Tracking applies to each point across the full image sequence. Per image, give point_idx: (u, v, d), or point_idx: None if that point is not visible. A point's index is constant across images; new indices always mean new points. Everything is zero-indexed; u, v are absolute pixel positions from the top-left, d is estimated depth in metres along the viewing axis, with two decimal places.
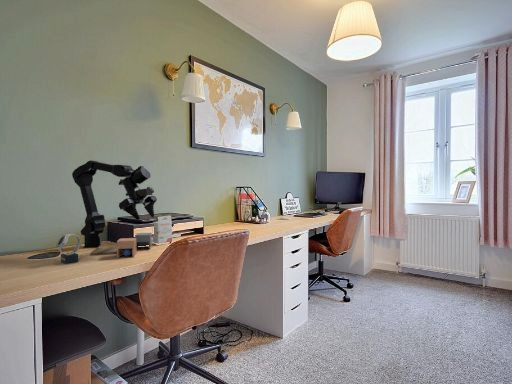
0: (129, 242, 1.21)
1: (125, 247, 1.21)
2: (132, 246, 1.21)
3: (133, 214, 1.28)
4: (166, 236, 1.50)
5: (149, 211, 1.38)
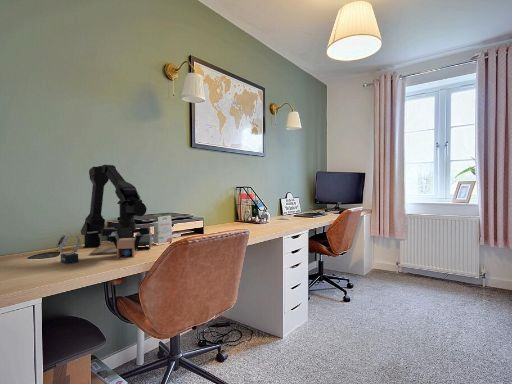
0: (129, 242, 1.21)
1: (125, 247, 1.21)
2: (132, 246, 1.21)
3: None
4: (166, 236, 1.50)
5: None
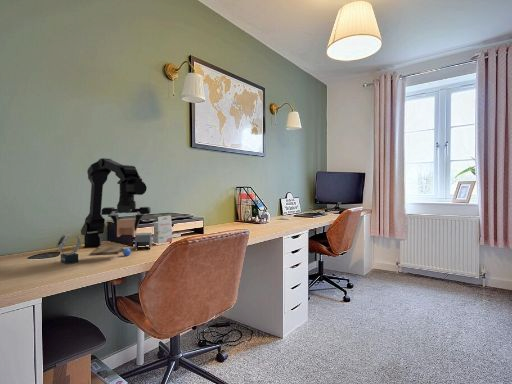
0: (129, 221, 1.21)
1: (125, 226, 1.20)
2: (132, 225, 1.21)
3: None
4: (166, 236, 1.50)
5: None
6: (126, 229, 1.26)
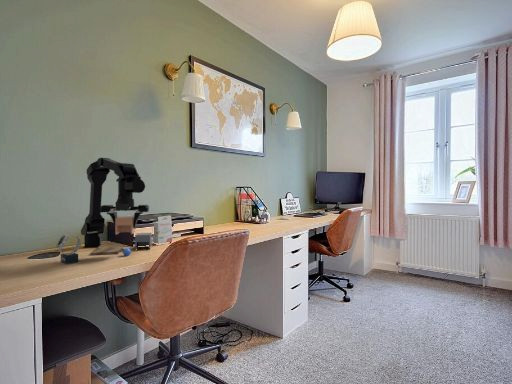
0: (128, 219, 1.21)
1: (124, 224, 1.21)
2: (131, 223, 1.22)
3: None
4: (166, 236, 1.50)
5: (134, 220, 1.26)
6: (125, 227, 1.27)
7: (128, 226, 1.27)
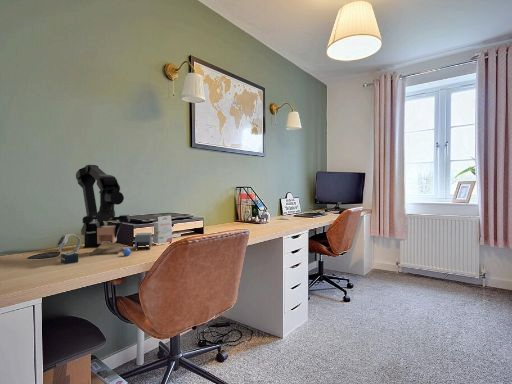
0: (109, 229, 1.28)
1: (105, 233, 1.28)
2: (112, 233, 1.28)
3: None
4: (166, 236, 1.50)
5: None
6: (107, 236, 1.33)
7: (110, 235, 1.34)
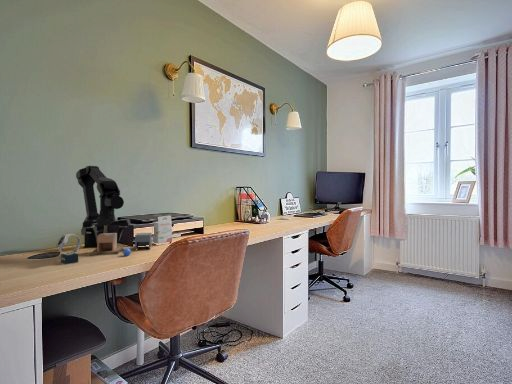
0: (109, 236, 1.28)
1: (105, 241, 1.28)
2: (112, 240, 1.28)
3: None
4: (166, 236, 1.50)
5: None
6: (107, 243, 1.33)
7: (110, 243, 1.34)
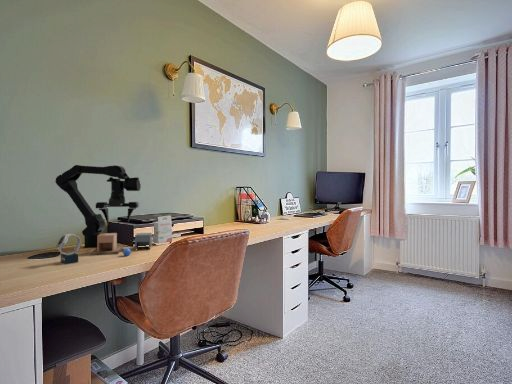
0: (109, 236, 1.28)
1: (105, 241, 1.28)
2: (112, 240, 1.28)
3: None
4: (166, 236, 1.50)
5: (128, 215, 1.45)
6: (107, 243, 1.33)
7: (110, 243, 1.34)
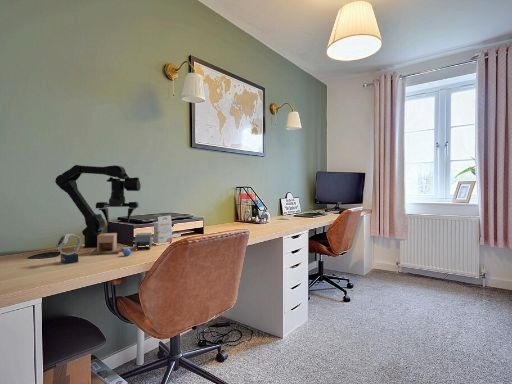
0: (109, 236, 1.28)
1: (105, 241, 1.28)
2: (112, 240, 1.28)
3: None
4: (166, 236, 1.50)
5: (128, 215, 1.45)
6: (107, 243, 1.33)
7: (110, 243, 1.34)
